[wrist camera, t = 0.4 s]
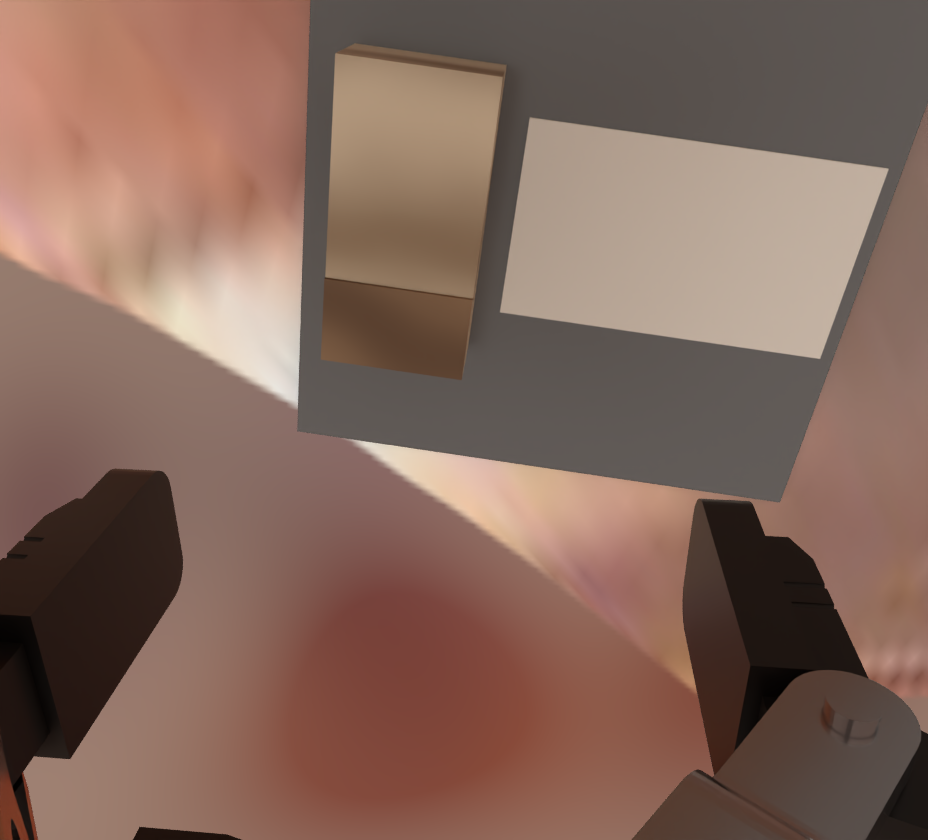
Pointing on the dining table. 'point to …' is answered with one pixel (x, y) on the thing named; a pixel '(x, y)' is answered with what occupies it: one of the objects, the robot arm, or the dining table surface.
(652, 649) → the dining table surface
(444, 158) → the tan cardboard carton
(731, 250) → the mat
